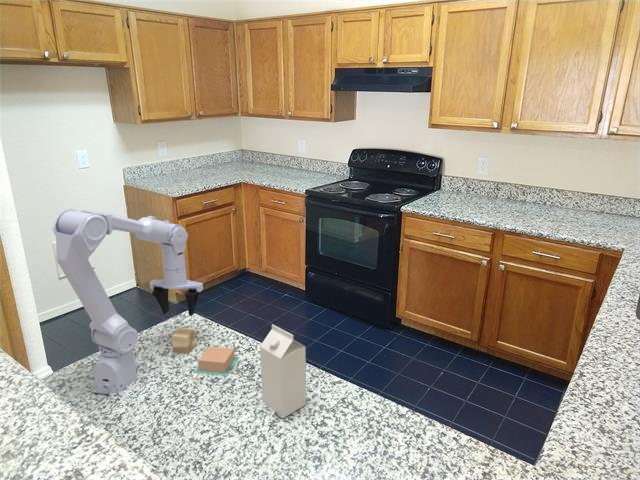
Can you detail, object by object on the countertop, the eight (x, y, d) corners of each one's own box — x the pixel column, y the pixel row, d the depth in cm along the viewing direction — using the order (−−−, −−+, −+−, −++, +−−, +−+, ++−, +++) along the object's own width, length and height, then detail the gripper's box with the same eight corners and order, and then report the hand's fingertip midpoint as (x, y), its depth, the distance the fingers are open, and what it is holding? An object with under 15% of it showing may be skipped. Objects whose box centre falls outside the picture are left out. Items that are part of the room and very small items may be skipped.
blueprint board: (229, 385, 110) (229, 382, 110) (183, 380, 112) (183, 377, 112) (248, 355, 124) (248, 352, 123) (206, 351, 126) (206, 348, 125)
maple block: (188, 357, 123) (187, 337, 121) (173, 355, 124) (171, 335, 122) (196, 348, 127) (194, 329, 126) (181, 347, 128) (179, 328, 126)
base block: (225, 373, 114) (224, 362, 113) (198, 370, 115) (197, 360, 114) (234, 358, 120) (234, 348, 120) (209, 356, 122) (209, 346, 121)
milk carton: (286, 391, 108) (284, 319, 103) (306, 405, 103) (305, 329, 98) (262, 405, 103) (259, 329, 98) (282, 419, 98) (280, 341, 93)
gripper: (206, 263, 124) (209, 309, 128) (156, 261, 127) (161, 305, 130) (195, 272, 118) (199, 320, 122) (143, 269, 120) (148, 316, 124)
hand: (178, 313), depth 126 cm, fingers open, 7 cm apart
